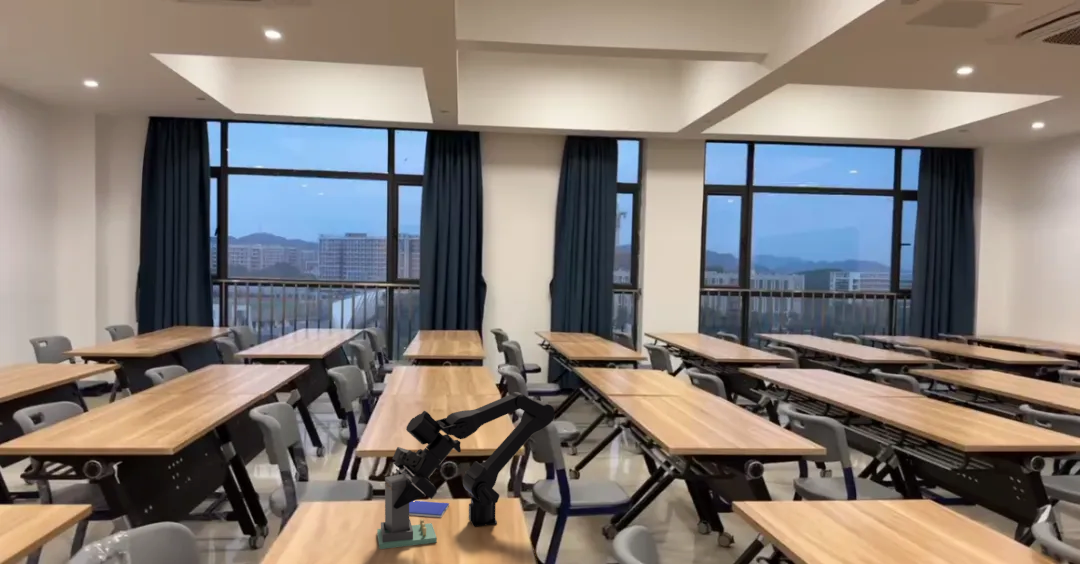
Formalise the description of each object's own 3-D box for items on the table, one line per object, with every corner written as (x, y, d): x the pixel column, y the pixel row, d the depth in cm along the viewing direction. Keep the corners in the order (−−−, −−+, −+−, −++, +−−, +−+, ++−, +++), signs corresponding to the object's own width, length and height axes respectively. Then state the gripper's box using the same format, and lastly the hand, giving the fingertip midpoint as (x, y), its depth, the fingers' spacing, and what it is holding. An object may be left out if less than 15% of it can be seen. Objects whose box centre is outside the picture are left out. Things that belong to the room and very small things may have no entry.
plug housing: (402, 523, 165) (402, 473, 165) (409, 529, 161) (409, 479, 161) (385, 527, 162) (385, 477, 162) (391, 534, 159) (391, 482, 158)
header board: (431, 527, 169) (431, 515, 169) (436, 542, 161) (436, 529, 160) (377, 533, 165) (377, 521, 165) (379, 549, 156) (379, 536, 156)
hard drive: (398, 510, 177) (441, 513, 176) (407, 499, 185) (449, 502, 184) (397, 516, 177) (441, 519, 176) (407, 504, 185) (449, 507, 184)
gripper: (401, 427, 171) (360, 474, 166) (424, 446, 155) (379, 498, 150) (429, 451, 175) (389, 498, 170) (454, 472, 159) (411, 524, 154)
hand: (391, 504), depth 161 cm, fingers closed on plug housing, 5 cm apart
